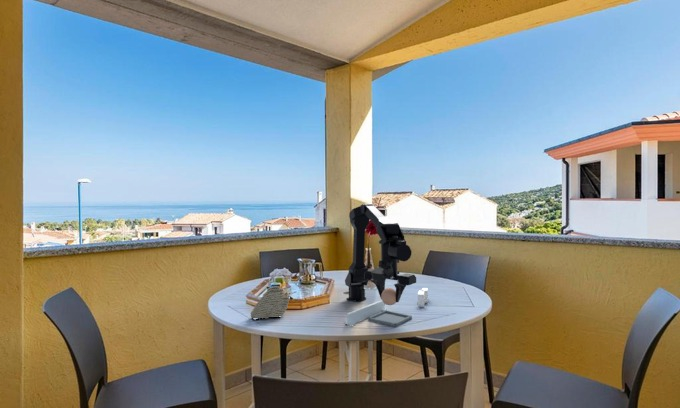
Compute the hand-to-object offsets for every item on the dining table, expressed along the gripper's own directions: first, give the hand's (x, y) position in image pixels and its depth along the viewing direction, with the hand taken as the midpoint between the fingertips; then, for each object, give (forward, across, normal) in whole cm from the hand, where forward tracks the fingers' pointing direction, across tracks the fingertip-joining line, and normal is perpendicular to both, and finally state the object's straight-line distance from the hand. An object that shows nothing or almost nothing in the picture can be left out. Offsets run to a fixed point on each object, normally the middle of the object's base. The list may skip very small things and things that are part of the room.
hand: (389, 300), depth 127 cm
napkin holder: (+8, 0, +27) cm, 28 cm away
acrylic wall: (+7, -8, -3) cm, 11 cm away
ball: (-2, 0, 0) cm, 2 cm away
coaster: (+7, 0, 0) cm, 7 cm away
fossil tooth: (+7, -37, -24) cm, 45 cm away
